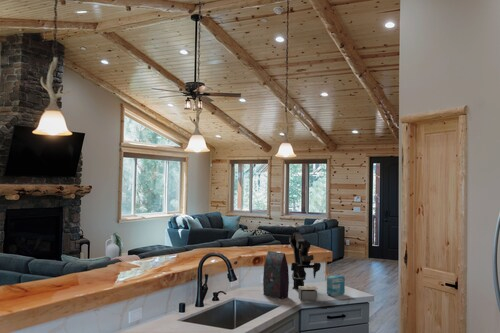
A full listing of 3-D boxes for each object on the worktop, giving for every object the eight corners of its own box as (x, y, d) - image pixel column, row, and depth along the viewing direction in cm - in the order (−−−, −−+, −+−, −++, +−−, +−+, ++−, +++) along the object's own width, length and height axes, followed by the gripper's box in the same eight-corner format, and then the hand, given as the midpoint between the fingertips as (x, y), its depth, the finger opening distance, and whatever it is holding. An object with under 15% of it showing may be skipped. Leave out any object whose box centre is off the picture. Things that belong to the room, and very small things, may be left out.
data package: (331, 296, 289) (331, 277, 289) (326, 295, 292) (326, 276, 293) (344, 294, 295) (344, 276, 296) (339, 293, 299) (339, 274, 300)
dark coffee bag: (271, 292, 297) (272, 250, 298) (289, 297, 284) (289, 253, 286) (262, 294, 291) (263, 251, 293) (280, 299, 279) (280, 254, 280)
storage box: (298, 297, 283) (298, 288, 284) (314, 297, 284) (314, 288, 284) (300, 301, 275) (301, 291, 276) (316, 301, 276) (316, 291, 276)
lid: (298, 287, 284) (298, 286, 284) (314, 287, 284) (314, 286, 285) (300, 289, 275) (300, 287, 276) (317, 289, 276) (317, 287, 276)
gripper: (291, 250, 287) (294, 271, 276) (320, 250, 289) (324, 271, 278) (289, 259, 295) (292, 280, 284) (317, 259, 297) (321, 280, 286)
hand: (307, 278), depth 283 cm, fingers open, 9 cm apart
